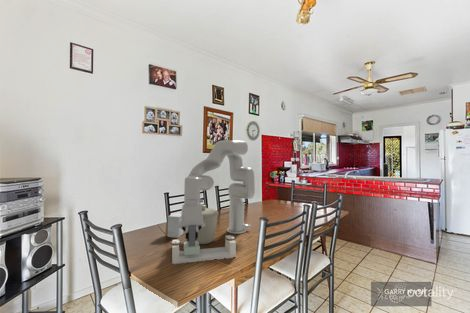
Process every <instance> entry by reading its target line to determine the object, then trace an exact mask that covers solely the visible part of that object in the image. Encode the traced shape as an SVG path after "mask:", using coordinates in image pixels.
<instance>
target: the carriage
mask: <svg viewBox="0 0 470 313" xmlns="http://www.w3.org/2000/svg"><path fill="white" fill-rule="evenodd" d="M188 232H189V241H187V240H186V241H183V251H184V254H185V255H193V254H200V249H201V245H200V244H199V243H198V241H195V225H189V226H188Z"/></svg>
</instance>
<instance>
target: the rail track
mask: <svg viewBox="0 0 470 313" xmlns="http://www.w3.org/2000/svg"><path fill="white" fill-rule="evenodd" d="M181 244H182V241H181V240H179V238H178V239H172V241H170V245H171V246H172V248H171V249H172V250H171V251H172V252H171V257H172V258H171V265H177V264H178V265H179V264H186V263H187V262H188V263H195V262H197V261H198V262H204V261H206V260H207V261H214V259H217V260H224V258H226V259H234V258H233V257H236V256H237V242H236V237H235V236H233V235H225V242H224V244H225V245H224V246H222V247H213V248H212V247H211V248H200V254H193V255H185V254H184V250H180V245H181ZM198 262H197V263H198Z"/></svg>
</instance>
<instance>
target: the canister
mask: <svg viewBox="0 0 470 313" xmlns="http://www.w3.org/2000/svg"><path fill="white" fill-rule="evenodd" d="M201 206H202V216H203V221H204V223H205V226H204V227H202V228H201V229H200V230H199V232H198V238H197V240H196V241H198V243H199V245H207V244H210V243H212V242H214V239H215V236H216V231H217V230H216V229H217V222H218V215H219V214H220V213H219V211H218V210H216V209H214V208H209V207H207V205H206V204H201ZM195 229H196V228H195Z"/></svg>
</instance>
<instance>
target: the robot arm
mask: <svg viewBox="0 0 470 313" xmlns="http://www.w3.org/2000/svg"><path fill="white" fill-rule="evenodd" d="M248 150H249V147H248V143H247V142H246V141H245V140H218V141H216V143H215V144H214V146H213V147H212V149H211V151H210V152H209V154H208V156H207V157H206V158H205V159H203V160H202V161H200V162H199V163H198V164H196V165H194V167H193V168H192V169H191V170H190V172H189V174H188V176H187V177H185V178H184V189H183V190H184V194H183V197H184V199H183V202H184V203H183V204H182V205H181V206H182V207H181V213H180V214H181V221H180V223H179V225H178V228H180V229H182V230H183V232H185V239H186V241H189V232H188V226H189V225H195V228H196V229H195V241H196V240H197V238H198V232H199V230H200V229H201V228H202V227H204V226H205V223H204V221H203V216H202V206H201V205H202V204H201V203H203V202H204V199H202V198H201V191H209V190H211V189H212V188H213V187H214V179H213V177H211V176H210V175H204V174H205V173H208V172H210V171H213V170H215V169H218V168H221V165H222V163H223V161H224V160H225V158H226V157H227V158H228V162H229V177H230V180H231V181H233V183H230V184H229V186H228V191H227V192H228V196H229V197H228V198H229V226H228V227H227V228H226V231H227V233H230V234H235V235H236V234H237V235H239V234H240V235H241V234H245V233H246V232H247V228H248V229H251V228H252V226H251V224H248V223H246V224H245V202H244V201H243V199H248V200H251V199H253V198H254V196H255V193H256V188H255V186H256V185H255V184H256V183H255V180H256V179H255V171H254V169H253V168H251V167H250V166H249V167H248V166H244V165H243V158H242V156H244V155H246V154H247V152H248Z"/></svg>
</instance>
